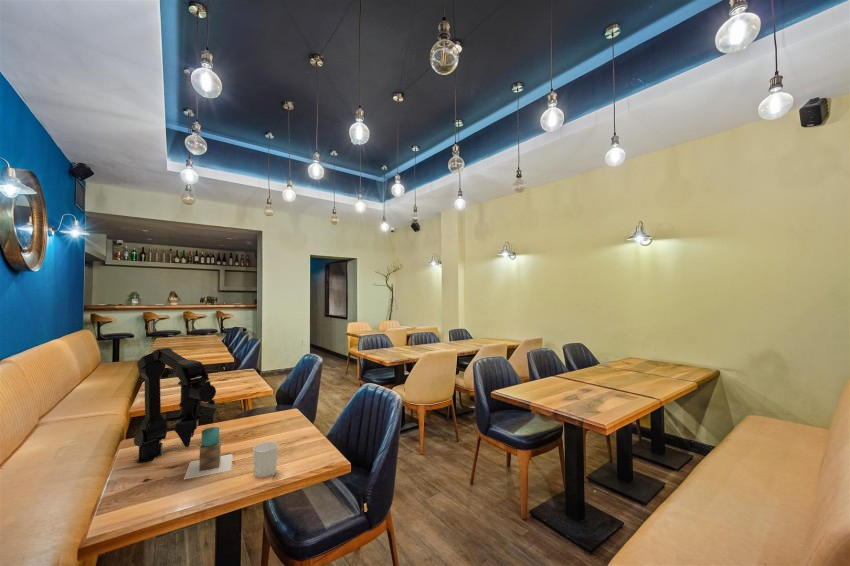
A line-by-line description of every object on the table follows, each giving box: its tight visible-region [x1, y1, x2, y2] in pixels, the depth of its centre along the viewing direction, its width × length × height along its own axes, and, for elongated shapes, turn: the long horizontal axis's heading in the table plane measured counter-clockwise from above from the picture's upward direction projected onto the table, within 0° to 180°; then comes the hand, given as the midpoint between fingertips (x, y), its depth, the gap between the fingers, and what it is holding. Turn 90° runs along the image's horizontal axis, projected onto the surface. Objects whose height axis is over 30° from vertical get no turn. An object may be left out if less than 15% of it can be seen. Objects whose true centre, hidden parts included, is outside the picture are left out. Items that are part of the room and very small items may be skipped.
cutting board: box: [183, 453, 234, 481], centre depth 127 cm, size 14×14×1 cm
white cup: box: [252, 441, 279, 478], centre depth 122 cm, size 8×8×10 cm
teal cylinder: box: [201, 426, 220, 447], centre depth 127 cm, size 6×6×5 cm
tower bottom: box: [199, 450, 221, 471], centre depth 127 cm, size 6×6×4 cm
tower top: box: [199, 438, 222, 460], centre depth 127 cm, size 6×6×4 cm
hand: (189, 441), depth 124 cm, fingers open, 9 cm apart
